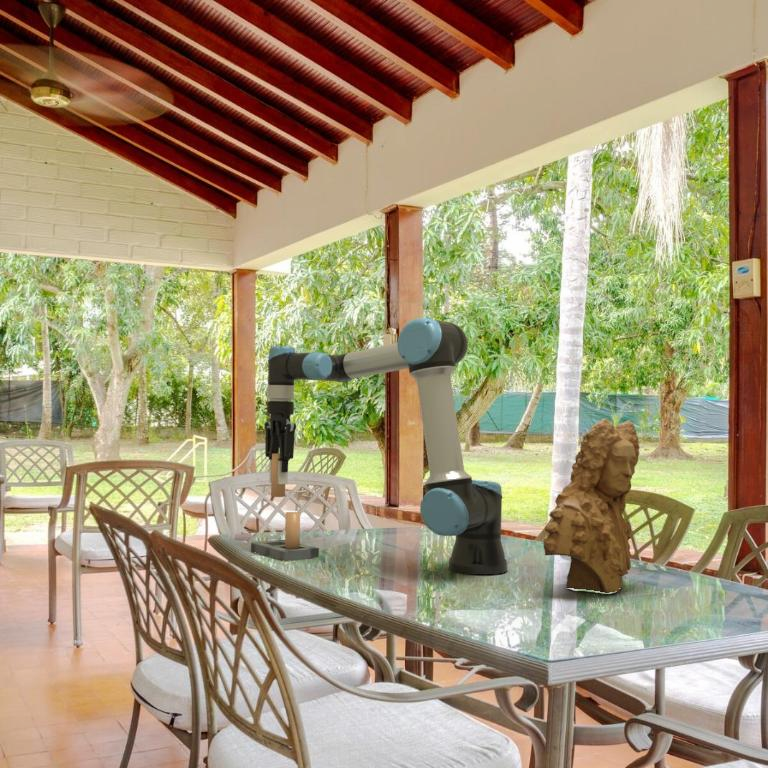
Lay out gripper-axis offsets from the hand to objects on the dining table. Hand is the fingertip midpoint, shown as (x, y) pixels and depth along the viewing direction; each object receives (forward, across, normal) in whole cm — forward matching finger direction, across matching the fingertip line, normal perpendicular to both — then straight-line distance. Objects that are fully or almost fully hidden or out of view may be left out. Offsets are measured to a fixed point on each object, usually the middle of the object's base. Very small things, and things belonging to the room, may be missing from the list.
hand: (278, 483), depth 244 cm
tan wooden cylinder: (+20, -8, 0) cm, 21 cm away
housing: (+20, -4, 0) cm, 20 cm away
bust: (+19, -82, -37) cm, 92 cm away
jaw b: (+4, 0, 0) cm, 4 cm away
